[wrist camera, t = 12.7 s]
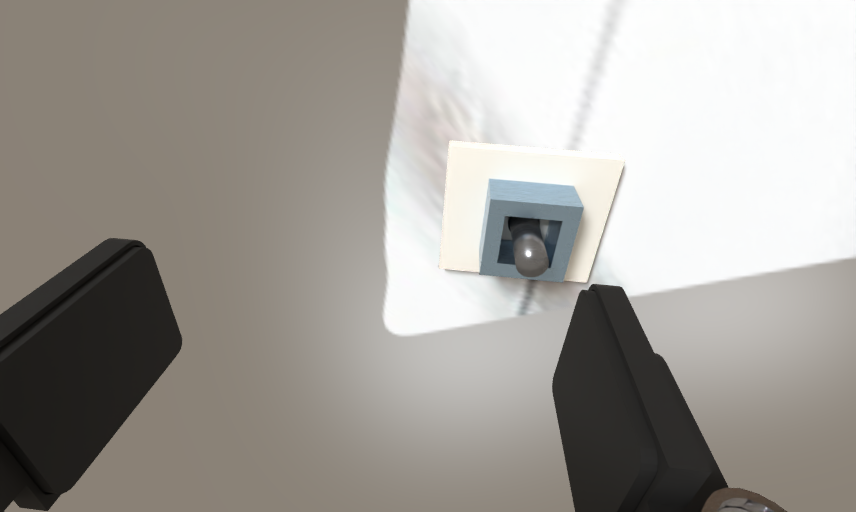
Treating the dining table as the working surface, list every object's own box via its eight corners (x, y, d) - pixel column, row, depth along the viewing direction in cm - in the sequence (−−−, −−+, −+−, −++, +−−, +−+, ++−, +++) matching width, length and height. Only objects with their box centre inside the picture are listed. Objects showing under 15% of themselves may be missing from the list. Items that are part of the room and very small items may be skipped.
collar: (573, 185, 36) (584, 207, 32) (555, 256, 39) (563, 282, 36) (488, 178, 36) (490, 199, 33) (478, 249, 40) (479, 274, 36)
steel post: (541, 207, 37) (554, 250, 31) (535, 234, 38) (546, 280, 32) (510, 204, 37) (516, 247, 31) (505, 231, 38) (510, 277, 33)
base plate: (619, 154, 35) (625, 160, 34) (583, 273, 42) (586, 282, 41) (449, 140, 36) (448, 146, 35) (439, 260, 43) (438, 268, 41)
